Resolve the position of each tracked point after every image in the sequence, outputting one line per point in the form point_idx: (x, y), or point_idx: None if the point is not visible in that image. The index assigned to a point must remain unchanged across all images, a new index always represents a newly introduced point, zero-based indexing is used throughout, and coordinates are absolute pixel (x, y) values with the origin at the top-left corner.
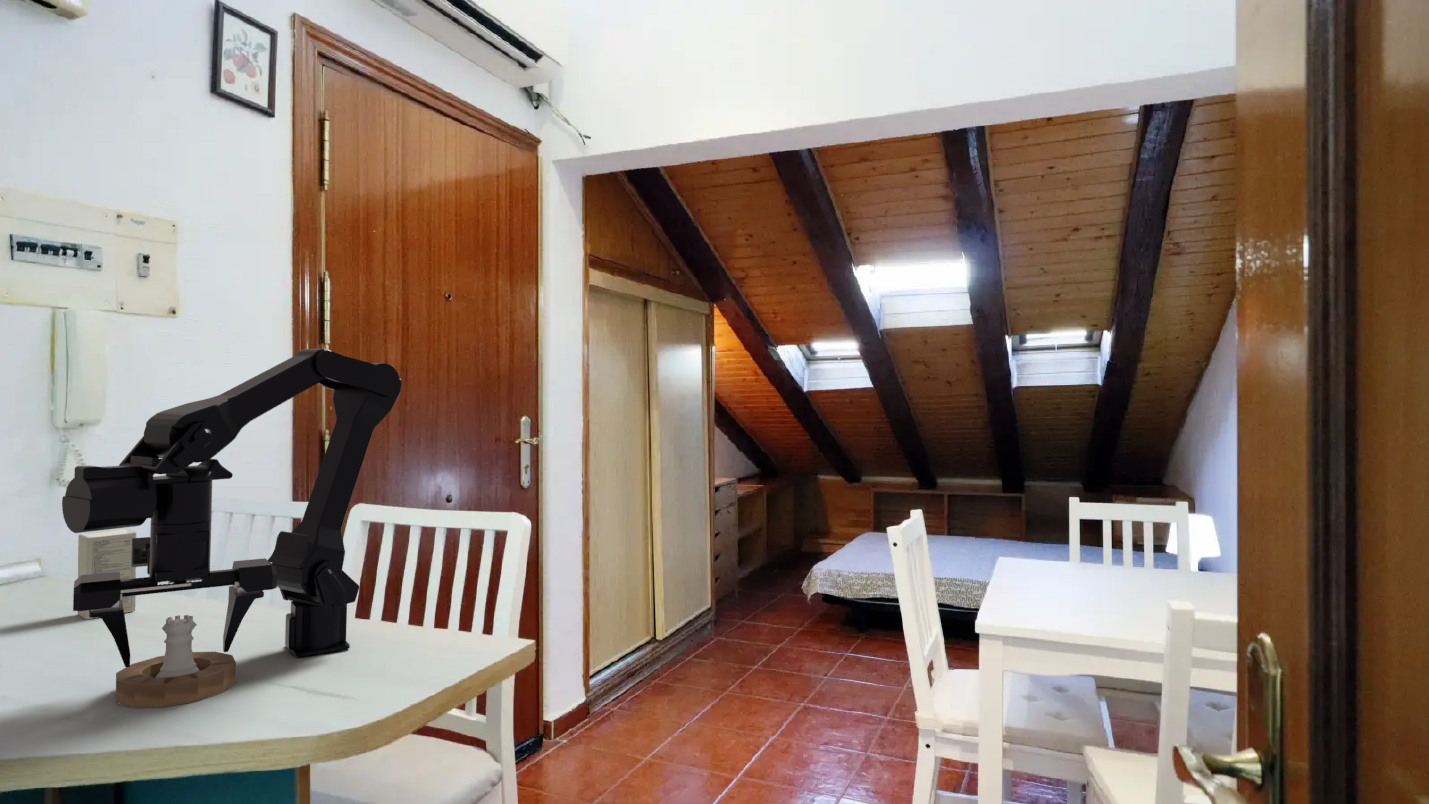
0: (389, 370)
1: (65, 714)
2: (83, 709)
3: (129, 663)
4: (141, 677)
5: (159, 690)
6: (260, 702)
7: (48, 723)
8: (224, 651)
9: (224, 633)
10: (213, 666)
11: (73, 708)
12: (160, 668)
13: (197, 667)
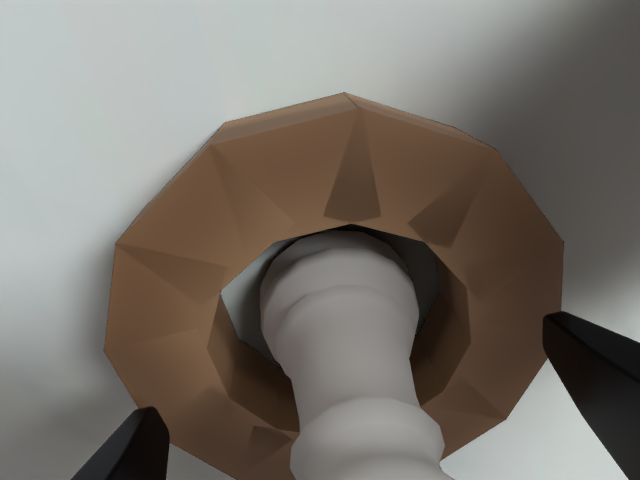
0: None
1: (61, 411)
2: (94, 388)
3: (167, 456)
4: (233, 421)
5: None
6: (551, 445)
7: (53, 455)
8: (545, 351)
9: (609, 392)
10: (476, 370)
11: (55, 374)
12: (278, 357)
13: (410, 295)
